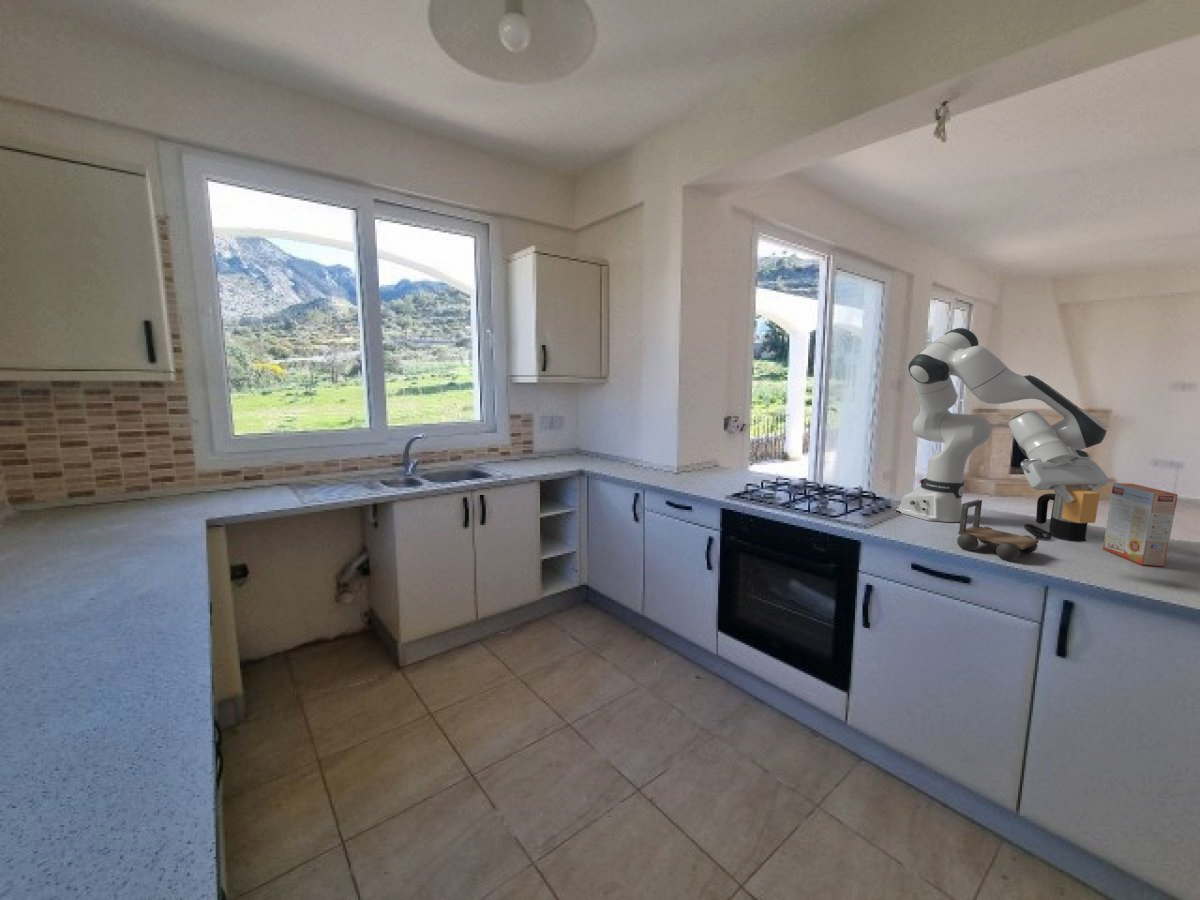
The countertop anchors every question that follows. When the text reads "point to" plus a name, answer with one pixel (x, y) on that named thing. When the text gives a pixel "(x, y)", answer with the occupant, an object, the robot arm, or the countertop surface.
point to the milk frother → (1056, 521)
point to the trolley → (992, 536)
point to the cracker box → (1140, 523)
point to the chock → (1081, 506)
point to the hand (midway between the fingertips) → (1083, 501)
